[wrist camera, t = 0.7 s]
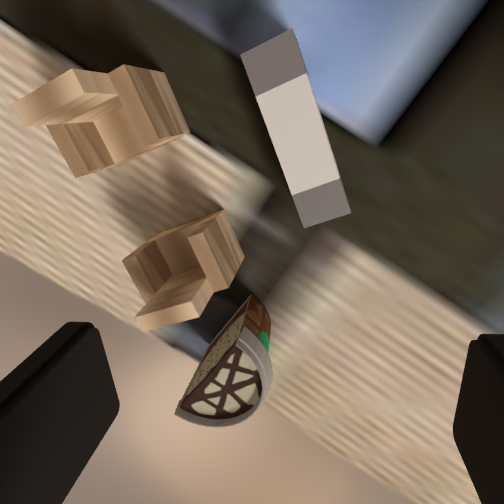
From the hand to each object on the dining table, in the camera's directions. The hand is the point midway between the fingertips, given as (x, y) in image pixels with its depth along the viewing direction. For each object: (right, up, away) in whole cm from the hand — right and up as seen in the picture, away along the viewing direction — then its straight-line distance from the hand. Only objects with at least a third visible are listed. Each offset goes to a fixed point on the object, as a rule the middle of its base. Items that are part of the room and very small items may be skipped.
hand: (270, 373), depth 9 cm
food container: (-1, -7, +32) cm, 33 cm away
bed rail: (+4, +14, +22) cm, 26 cm away
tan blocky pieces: (-9, +10, +26) cm, 30 cm away
